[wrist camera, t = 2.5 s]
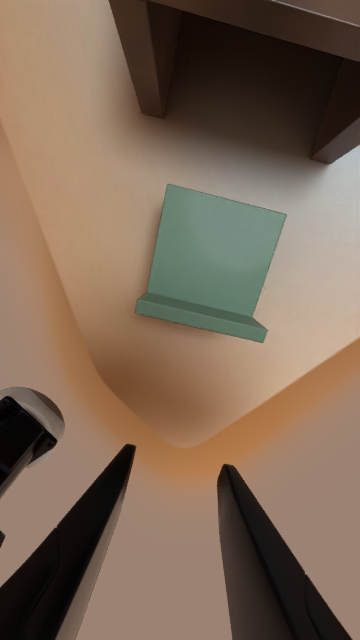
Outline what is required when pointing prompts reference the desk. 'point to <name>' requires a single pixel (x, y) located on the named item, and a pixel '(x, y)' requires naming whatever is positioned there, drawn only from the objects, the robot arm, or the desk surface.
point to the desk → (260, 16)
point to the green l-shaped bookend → (210, 263)
